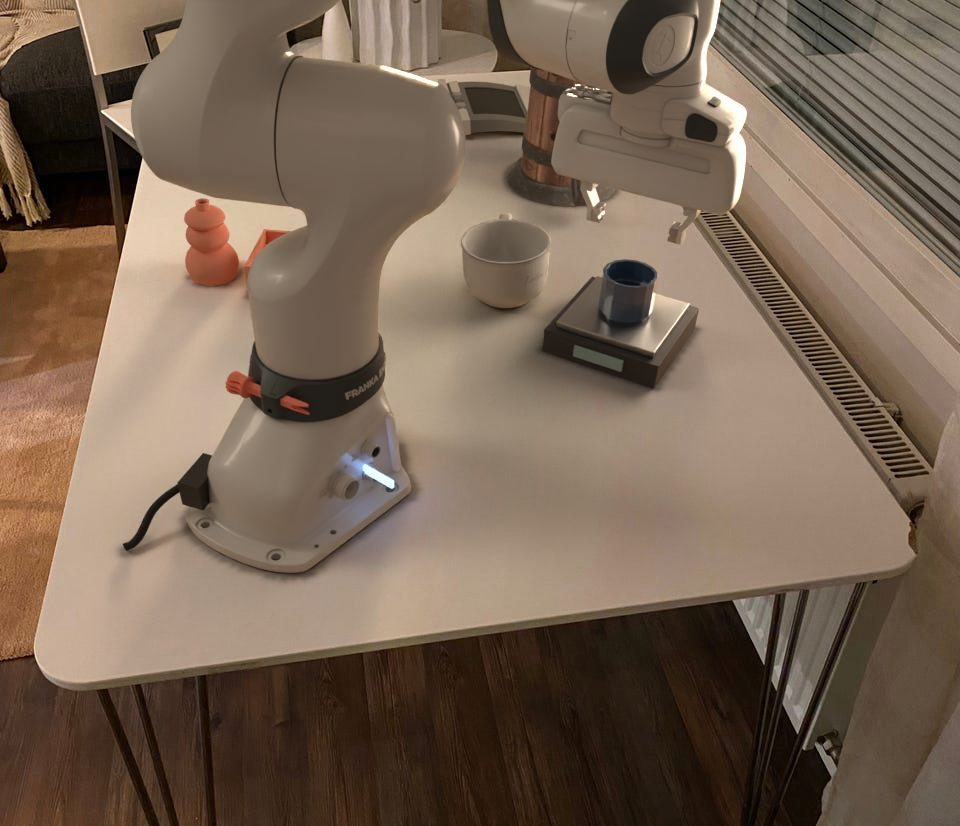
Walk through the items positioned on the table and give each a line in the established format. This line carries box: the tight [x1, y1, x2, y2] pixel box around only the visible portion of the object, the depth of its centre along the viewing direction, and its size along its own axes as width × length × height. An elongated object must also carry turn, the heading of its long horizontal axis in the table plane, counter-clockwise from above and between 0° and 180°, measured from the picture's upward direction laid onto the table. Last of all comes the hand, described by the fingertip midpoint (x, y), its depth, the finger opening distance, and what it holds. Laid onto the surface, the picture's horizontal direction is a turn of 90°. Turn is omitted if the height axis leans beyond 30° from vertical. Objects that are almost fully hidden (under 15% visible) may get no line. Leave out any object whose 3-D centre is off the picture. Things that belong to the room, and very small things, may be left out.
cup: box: [599, 258, 659, 323], centre depth 111 cm, size 6×6×5 cm
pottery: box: [183, 197, 292, 298], centre depth 119 cm, size 18×10×10 cm, turn 85°
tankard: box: [505, 68, 617, 207], centre depth 137 cm, size 24×17×20 cm
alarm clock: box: [437, 78, 530, 136], centre depth 162 cm, size 17×5×16 cm
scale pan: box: [556, 275, 691, 358], centre depth 113 cm, size 12×12×1 cm
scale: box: [541, 276, 700, 389], centre depth 114 cm, size 14×14×3 cm
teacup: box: [460, 212, 552, 309], centre depth 120 cm, size 14×11×8 cm
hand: (634, 230), depth 105 cm, fingers open, 8 cm apart
